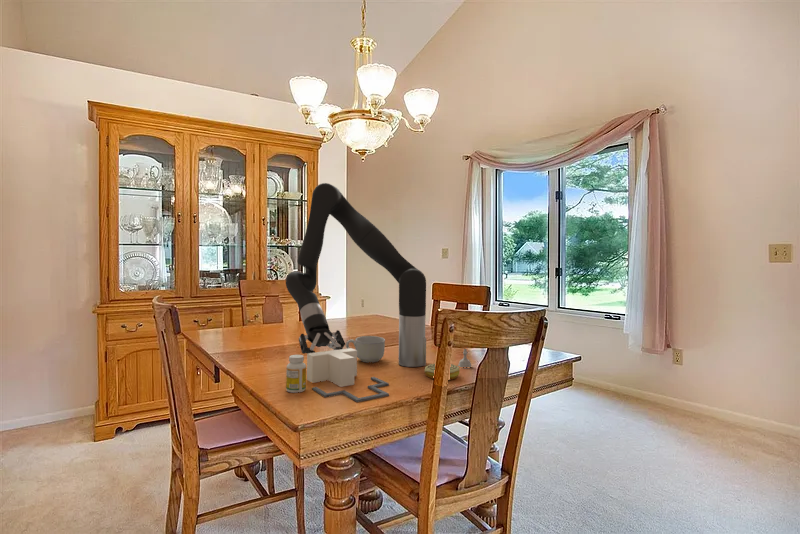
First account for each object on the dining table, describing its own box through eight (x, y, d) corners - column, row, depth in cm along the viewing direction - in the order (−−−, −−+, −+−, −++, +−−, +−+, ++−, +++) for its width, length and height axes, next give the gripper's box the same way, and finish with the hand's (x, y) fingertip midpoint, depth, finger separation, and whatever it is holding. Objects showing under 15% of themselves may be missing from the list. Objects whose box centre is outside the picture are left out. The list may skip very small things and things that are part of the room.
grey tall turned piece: (471, 370, 149) (472, 316, 149) (452, 367, 152) (452, 315, 152) (477, 365, 156) (478, 313, 155) (458, 363, 159) (459, 312, 158)
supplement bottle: (291, 394, 122) (291, 359, 121) (282, 389, 126) (283, 355, 125) (309, 390, 125) (309, 356, 125) (300, 386, 129) (300, 353, 129)
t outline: (312, 389, 126) (312, 387, 126) (373, 378, 138) (374, 376, 138) (338, 406, 113) (338, 403, 113) (404, 392, 125) (404, 390, 125)
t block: (306, 379, 136) (307, 353, 136) (350, 372, 144) (350, 348, 144) (323, 389, 126) (323, 361, 126) (369, 381, 134) (370, 355, 134)
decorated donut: (435, 371, 149) (435, 359, 149) (464, 376, 143) (464, 364, 143) (418, 377, 140) (419, 366, 140) (449, 383, 134) (449, 371, 134)
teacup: (386, 357, 166) (386, 336, 166) (382, 364, 155) (382, 341, 155) (349, 356, 167) (349, 335, 167) (343, 363, 156) (343, 340, 156)
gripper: (296, 314, 143) (310, 357, 134) (337, 311, 151) (352, 351, 142) (290, 328, 148) (303, 370, 139) (330, 324, 156) (344, 364, 147)
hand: (328, 361), depth 140 cm, fingers open, 8 cm apart
